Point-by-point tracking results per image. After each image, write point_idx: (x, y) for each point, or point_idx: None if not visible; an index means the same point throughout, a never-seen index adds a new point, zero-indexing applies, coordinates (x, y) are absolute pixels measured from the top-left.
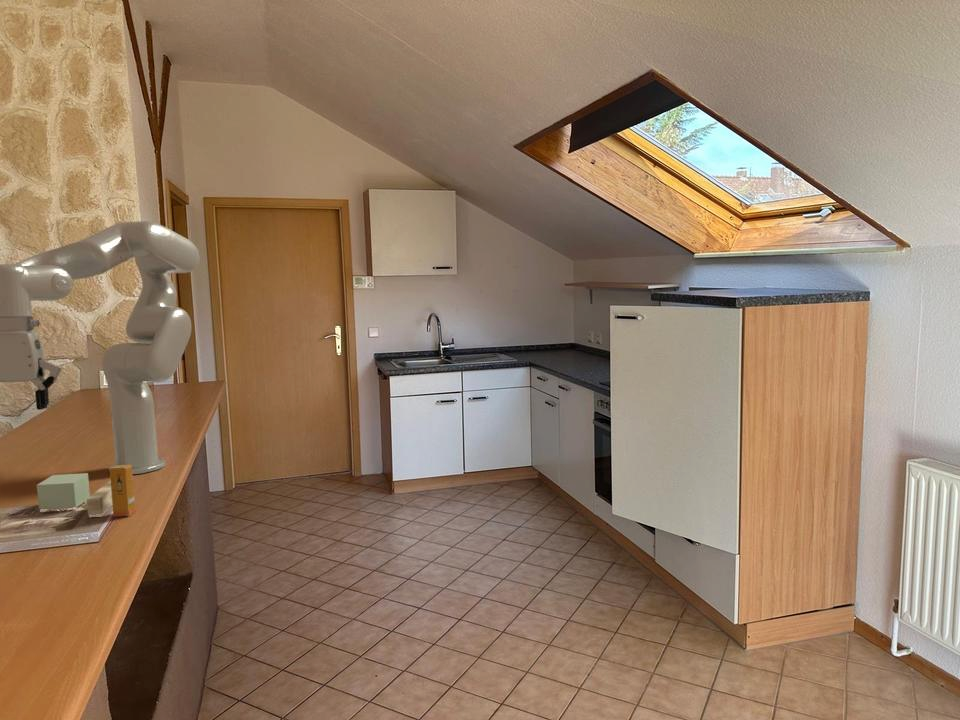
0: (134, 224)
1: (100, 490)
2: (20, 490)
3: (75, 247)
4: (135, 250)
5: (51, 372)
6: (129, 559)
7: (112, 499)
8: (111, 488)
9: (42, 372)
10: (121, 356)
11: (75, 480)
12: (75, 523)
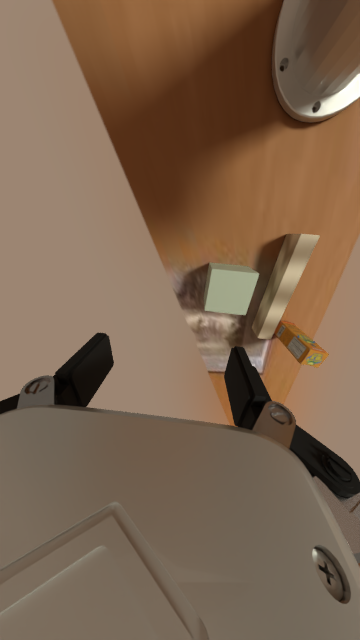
0: None
1: (270, 315)
2: (144, 185)
3: None
4: None
5: (358, 547)
6: (280, 399)
7: (281, 341)
8: (287, 348)
9: (297, 483)
10: None
11: (246, 305)
12: (241, 336)
